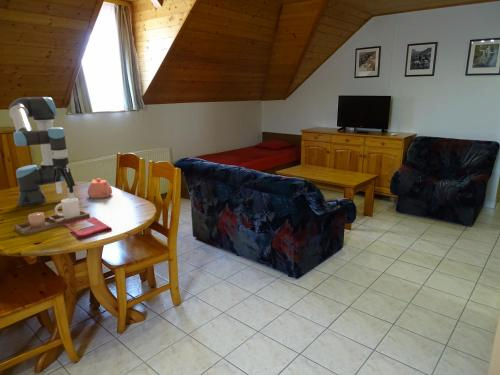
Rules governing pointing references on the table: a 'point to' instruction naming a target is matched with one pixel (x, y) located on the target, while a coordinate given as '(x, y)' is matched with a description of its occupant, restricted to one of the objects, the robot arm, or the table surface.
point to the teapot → (99, 189)
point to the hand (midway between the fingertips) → (65, 195)
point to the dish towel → (89, 228)
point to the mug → (69, 208)
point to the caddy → (50, 223)
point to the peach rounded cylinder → (36, 220)
